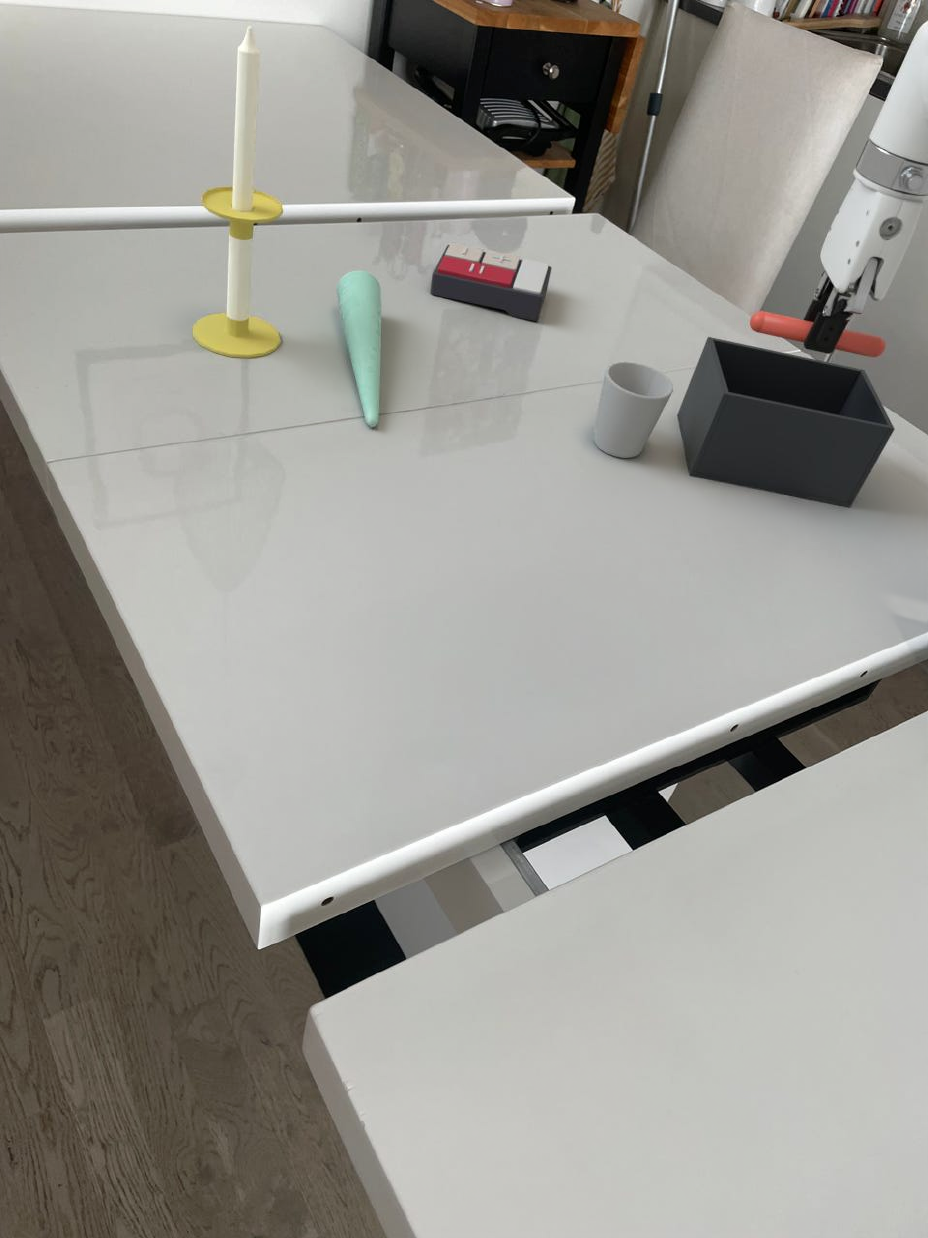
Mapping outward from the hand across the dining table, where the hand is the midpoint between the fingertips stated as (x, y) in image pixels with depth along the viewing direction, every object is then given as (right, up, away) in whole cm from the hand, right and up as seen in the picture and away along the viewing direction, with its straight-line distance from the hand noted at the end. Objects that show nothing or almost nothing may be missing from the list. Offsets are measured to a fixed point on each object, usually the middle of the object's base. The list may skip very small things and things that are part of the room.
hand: (814, 342), depth 106 cm
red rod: (0, 0, 0) cm, 0 cm away
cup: (-21, -9, +7) cm, 24 cm away
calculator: (-34, +15, +30) cm, 48 cm away
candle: (-64, +3, +8) cm, 65 cm away
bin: (-3, -11, +10) cm, 15 cm away
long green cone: (-50, -1, +8) cm, 50 cm away
